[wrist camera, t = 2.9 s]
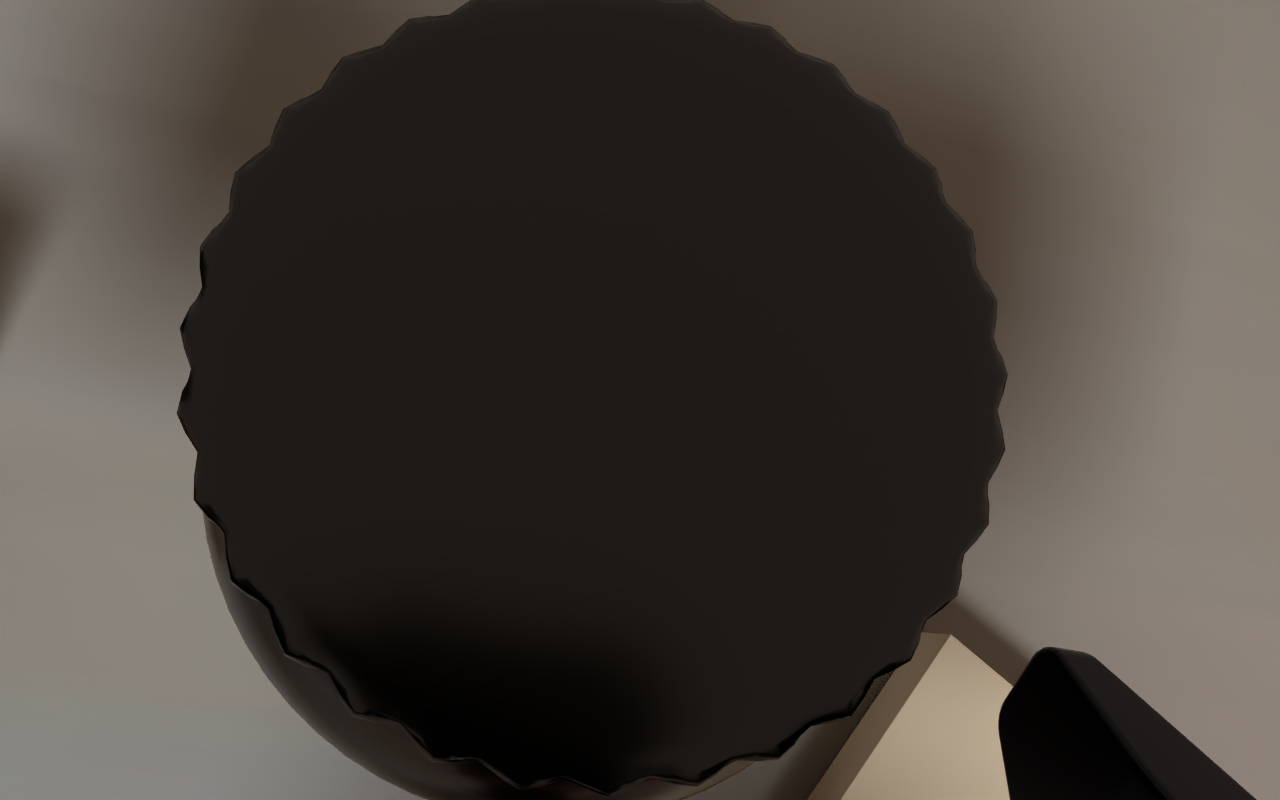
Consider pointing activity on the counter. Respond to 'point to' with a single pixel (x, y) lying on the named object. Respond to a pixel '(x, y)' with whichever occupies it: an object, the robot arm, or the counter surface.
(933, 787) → the maple board
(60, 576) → the counter surface
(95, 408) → the counter surface
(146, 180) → the counter surface
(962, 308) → the supplement bottle
